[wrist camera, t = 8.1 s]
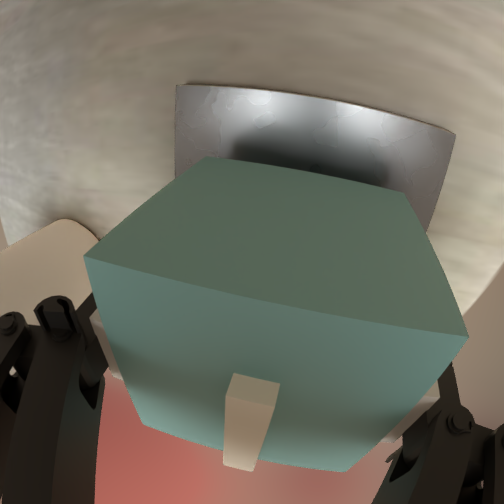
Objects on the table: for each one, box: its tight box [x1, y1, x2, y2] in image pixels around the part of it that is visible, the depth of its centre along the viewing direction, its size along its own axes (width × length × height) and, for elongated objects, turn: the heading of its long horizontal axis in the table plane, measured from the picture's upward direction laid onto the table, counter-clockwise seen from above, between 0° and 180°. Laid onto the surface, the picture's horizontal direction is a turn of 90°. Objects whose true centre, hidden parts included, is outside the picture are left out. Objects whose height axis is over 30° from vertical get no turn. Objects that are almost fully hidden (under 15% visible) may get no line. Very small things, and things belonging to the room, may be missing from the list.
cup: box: [0, 219, 99, 375], centre depth 16 cm, size 9×9×12 cm
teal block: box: [83, 156, 469, 472], centre depth 10 cm, size 7×7×8 cm
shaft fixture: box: [175, 84, 456, 233], centre depth 13 cm, size 12×12×6 cm
